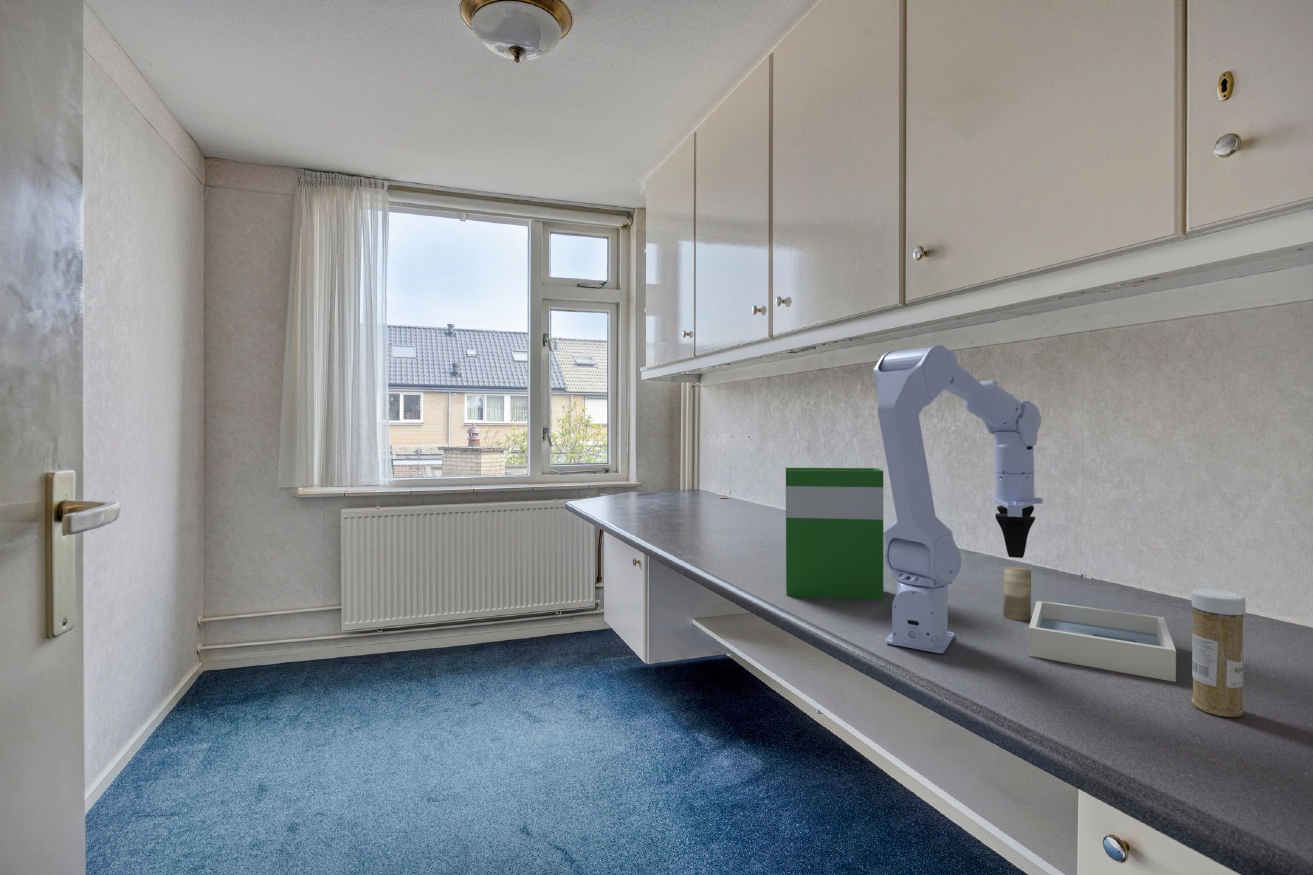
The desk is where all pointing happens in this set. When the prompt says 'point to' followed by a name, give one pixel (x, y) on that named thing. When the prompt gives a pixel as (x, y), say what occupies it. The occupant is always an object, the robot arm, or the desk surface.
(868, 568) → the hardback book
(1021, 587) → the wooden cylinder
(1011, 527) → the robot arm
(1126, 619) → the box
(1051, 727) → the desk surface
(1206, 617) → the sprinkles bottle
